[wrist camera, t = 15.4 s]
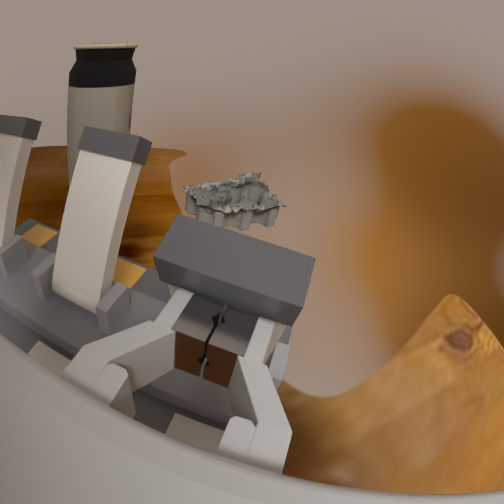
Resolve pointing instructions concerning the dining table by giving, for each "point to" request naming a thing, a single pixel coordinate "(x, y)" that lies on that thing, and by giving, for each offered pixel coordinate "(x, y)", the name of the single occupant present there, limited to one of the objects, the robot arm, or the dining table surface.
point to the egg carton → (233, 202)
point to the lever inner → (13, 167)
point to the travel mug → (99, 92)
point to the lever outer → (235, 271)
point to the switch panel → (110, 333)
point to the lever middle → (96, 214)
